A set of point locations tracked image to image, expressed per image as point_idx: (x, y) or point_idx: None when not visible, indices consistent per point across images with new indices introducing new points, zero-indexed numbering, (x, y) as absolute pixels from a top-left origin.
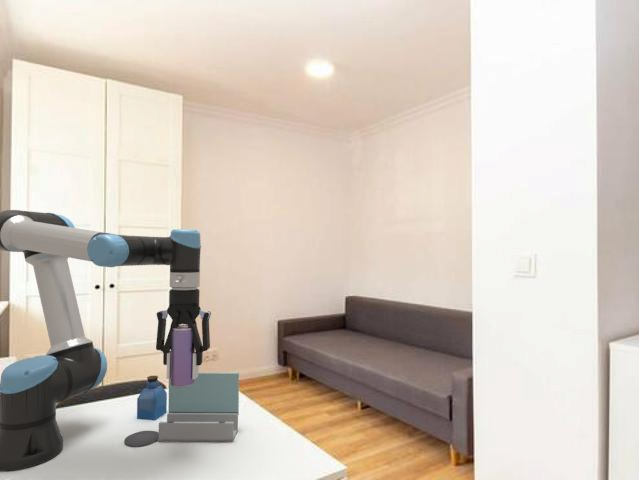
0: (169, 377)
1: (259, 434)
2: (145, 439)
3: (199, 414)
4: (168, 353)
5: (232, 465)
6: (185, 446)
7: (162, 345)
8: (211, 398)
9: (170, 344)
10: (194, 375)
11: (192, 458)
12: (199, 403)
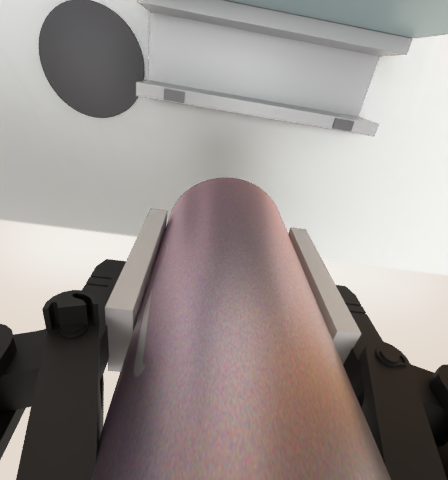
0: None
1: (436, 84)
2: (107, 79)
3: (266, 27)
4: (120, 369)
5: (335, 232)
6: (229, 132)
7: (13, 396)
8: (330, 9)
9: (101, 424)
10: None
11: None
12: (270, 2)
